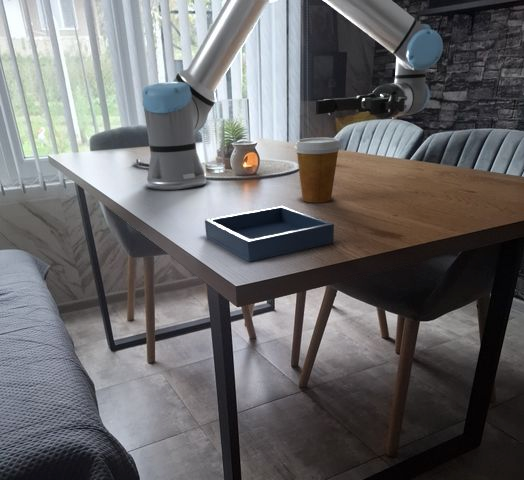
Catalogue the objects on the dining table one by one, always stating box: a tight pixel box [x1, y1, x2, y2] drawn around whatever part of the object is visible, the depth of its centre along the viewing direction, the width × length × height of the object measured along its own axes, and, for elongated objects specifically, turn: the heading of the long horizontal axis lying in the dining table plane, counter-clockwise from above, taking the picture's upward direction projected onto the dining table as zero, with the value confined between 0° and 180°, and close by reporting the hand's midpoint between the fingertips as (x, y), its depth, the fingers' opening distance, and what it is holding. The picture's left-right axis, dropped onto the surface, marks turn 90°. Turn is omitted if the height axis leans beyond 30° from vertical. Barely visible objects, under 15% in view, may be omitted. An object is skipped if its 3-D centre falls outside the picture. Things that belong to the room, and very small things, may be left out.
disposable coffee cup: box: [294, 137, 341, 203], centre depth 103 cm, size 10×10×12 cm
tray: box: [204, 205, 335, 263], centre depth 80 cm, size 16×16×3 cm
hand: (343, 107), depth 103 cm, fingers open, 13 cm apart
